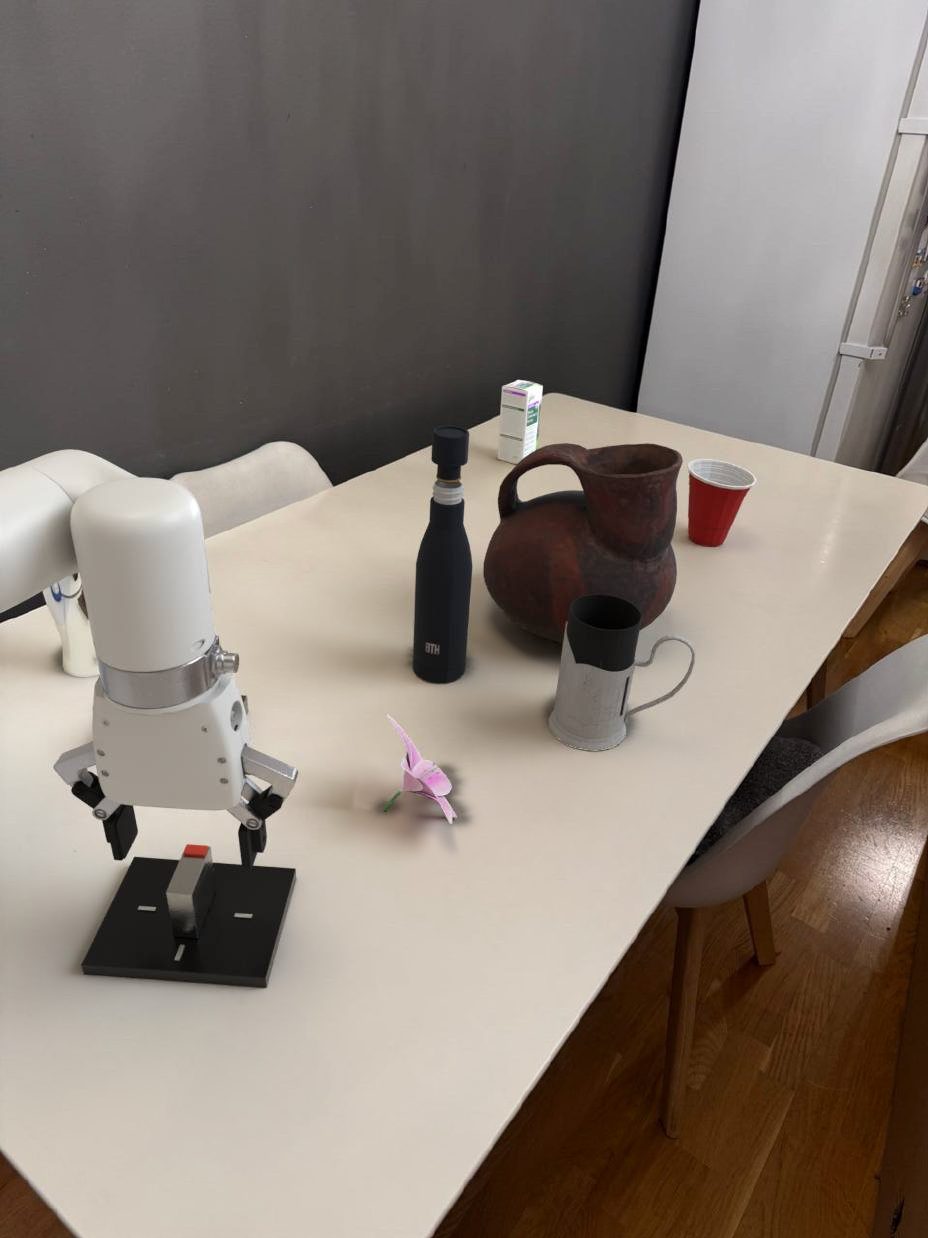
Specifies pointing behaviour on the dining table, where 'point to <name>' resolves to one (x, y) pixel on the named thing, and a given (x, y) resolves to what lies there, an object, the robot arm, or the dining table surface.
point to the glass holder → (600, 672)
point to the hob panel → (229, 938)
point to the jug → (586, 535)
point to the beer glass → (72, 626)
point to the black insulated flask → (444, 568)
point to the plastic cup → (715, 499)
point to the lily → (422, 776)
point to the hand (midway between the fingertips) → (189, 851)
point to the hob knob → (191, 891)
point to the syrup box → (519, 420)
